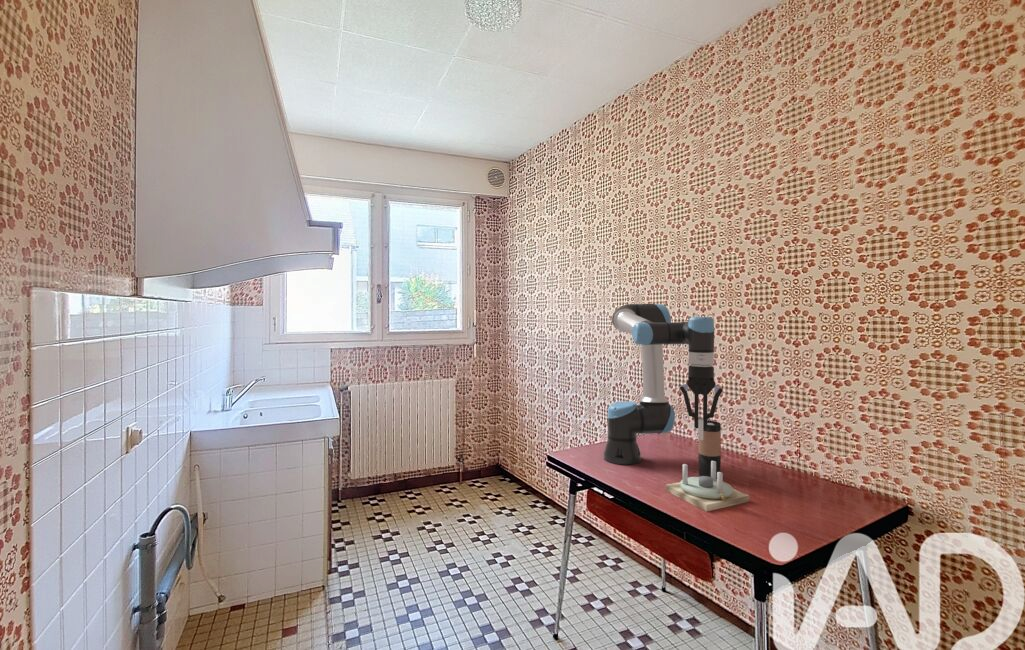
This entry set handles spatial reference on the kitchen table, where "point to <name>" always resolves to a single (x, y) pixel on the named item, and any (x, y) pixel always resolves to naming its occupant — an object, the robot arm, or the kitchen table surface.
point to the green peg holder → (706, 484)
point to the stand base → (707, 503)
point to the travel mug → (710, 448)
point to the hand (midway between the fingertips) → (700, 438)
